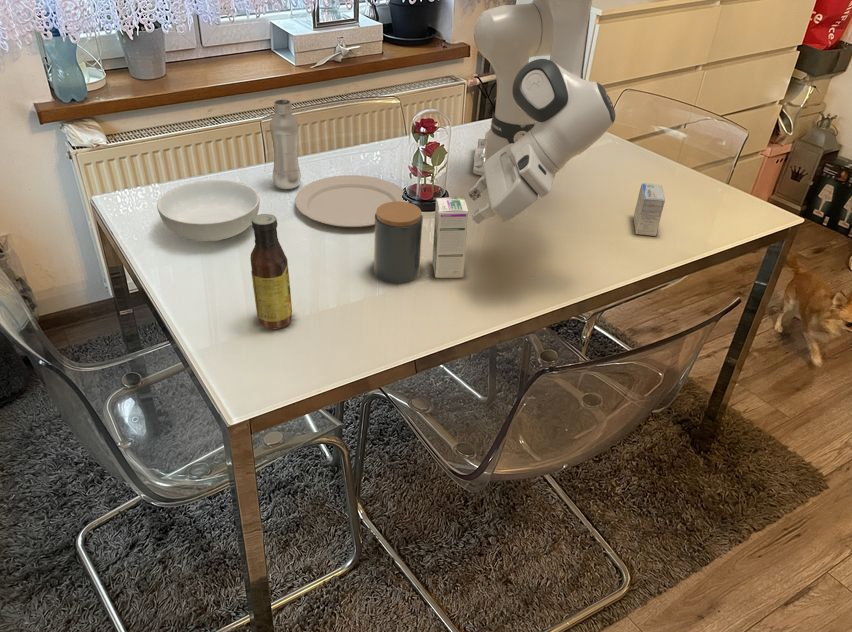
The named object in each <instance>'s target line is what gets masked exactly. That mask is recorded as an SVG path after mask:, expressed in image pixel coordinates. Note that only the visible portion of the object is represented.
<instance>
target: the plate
mask: <svg viewBox="0 0 852 632" xmlns="http://www.w3.org/2000/svg"><path fill="white" fill-rule="evenodd" d="M404 191H405V190H404V189H403V188H402V187H400V186H398V185H397V184H395V183H394V182H391V181H389V180H386V179H383V178H379V177H373V176H370V175H369V176H368V175H358V174H357V175H356V174H355V175H354V174H346V175H335V176H334V175H333V176H328V177H324V178H320V179H317V180H314V181H312V182H310V183H307V184H306V185H305V186H303V187H301V189H299V190H298V192H297V193H296V195H295V198H294V202H295V207H296V208H297V210H298V211H299V212H300V213H301V214H302V215H304V216H305V217H307V218H309V219H311V220H312V221H315V222H318V223H322V224H326V225H330V226H335V227H341V228H363V227H364V228H365V227H371V226H375V214H376V211H377V208H378V207H379V206H380V205H382V204H385V203H388V202H396V201H399V202H407V203H410V200H409V201H408V200H407V201H405V200H403V198H402V195H403V192H404Z"/></svg>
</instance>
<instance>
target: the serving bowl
mask: <svg viewBox="0 0 852 632" xmlns="http://www.w3.org/2000/svg"><path fill="white" fill-rule="evenodd" d="M260 201H261V199H260V194H259V192H258V191H257V190H255V189H254V188H253V187H251V186H250V185H247V184H245V183H243V182H239V181H234V180H227V179H225V180H224V179H207V180H199V181H194V182H189V183H185V184H182V185H179V186H176V187H173V188H171V189H170V190H168V191H166V192H165V193H164V194H162V195H161V196H160V198H159V199H158V200H157V204H156V208H157V211H158V214H159V217H160V219H161V221H162V223H163V224H164V225H165V227H167V228H168V229H169V231H171V232H172V233H174V234H175V235H177V236H179V237H181V238H184V239H188V240H191V241H197V242H214V241H221V240H226V239H230V238H232V237H235V236H237V235H239V234H241V233H243V232H245V230H247V229H248V228H249V227H250V226H252V218H253V217H255V216H257V215H259V214H258V213H259V209H260V203H261V202H260Z"/></svg>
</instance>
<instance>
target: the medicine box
mask: <svg viewBox="0 0 852 632" xmlns="http://www.w3.org/2000/svg"><path fill="white" fill-rule="evenodd" d="M665 202H666V198H665V193H664V190H663V185H662V184H656V183H646V182H645V183H644V182H643V183H641V185H640V188H639V192H638V196H637V200H636V204H635V208H634V213H633V218H632V219H633V224H634V232H635V235H641V236H652V237H655V236H657V233H658V229H659V226H660V222H661V218H662V214H663V211H664V206H665Z"/></svg>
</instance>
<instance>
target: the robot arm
mask: <svg viewBox="0 0 852 632" xmlns="http://www.w3.org/2000/svg"><path fill="white" fill-rule="evenodd" d="M592 5H593V0H532V1H531V2H530V3H519V4H503V5H499V6H496V7H492V8H489V9H486V10H484V11H482V12H481V13H480V14H479V16H478V17H477V20H476V21H475V24H474V29H473V41H474V44H475V47H476V49H477V51H478V52H479V53H480V55H481V56H482V57H483V58H485V60H487V61H488V63H489V64H490V66H491V67H492V69H493V72H494V75H495V80H496V96H495V97H496V98H495V109H494V110H495V111H494V113H493V115H492V117H491V121H490V122H491V124H490V128H489V129H488V130H487V131H486V132H485V133H484V138H478V140H477V147H475V149H474V155H473V167H472V173H473V174H474V175H477V176H481V177H480V178H479V179H478V180H477V182H476V183H475V185H474V186H473V187H472V188H470V189H469V190H468V196H469V198H470V199H471V200H472V201H477V199H479V198H481V196H482V194H483V193H484V192H485V191H486V190H487V194H488V199H489V202H488V203H486V205H485V206H484V207H483V208H481V209H479V208H477V209H476V210H475V211H474V212H473V213H472V214H471V218H472V220H473V222H474V223H475V224H476V225H480V224H481V223H482V222H484V221H485V220H488V219H491V218H494V217H495V216H496V217H497V218H498V219H499V220H500V221H501V222H506V221H511V220H512V219H513V218H515V217H516V216H518V215H519V214H521V213H522V212H523V211H525V210H527V209H528V208H529V207H530V206H531V205H532V204H534V203H535V202H536V200H537V199H538V197H540V198H545V197H546V196H547V195H549V193H551V191H552V186H553V183H554V179H555V177H556V174H557V173H558V172H559V171H561V170H563V168H564V167H565V166H566V164H567V163H568V162H569V161H570V160H571V159H573V158H575V157H576V156H579V155H582V154H583V153H584V152H585V151H587V150H589V148H591V147H592V146H593V145H594V144H595V143H596V142H598V140H600V139H601V138H602V137H603V136H604V135H605V134H606V133H607V132H608V131H610V129H611V128H612V127H613V125H614V123H615V121H616V110H615V107H614V104H613V102H612V100H611V98H610V96H609V95H608V93H607V91H606V89H605V88H604V86H603V85H602V84H601V83H600V82H598V81H593V80H587V79H584V70H585V69H584V68H585V60H586V52H587V45H588V38H589V36H588V35H589V28H590V21H591V20H590V19H591V10H592ZM538 57H539V58H538ZM540 57H549V59H547V58H540ZM531 58H537V59H533V60H531V61H530V59H531ZM529 61H530V62H529Z"/></svg>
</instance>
